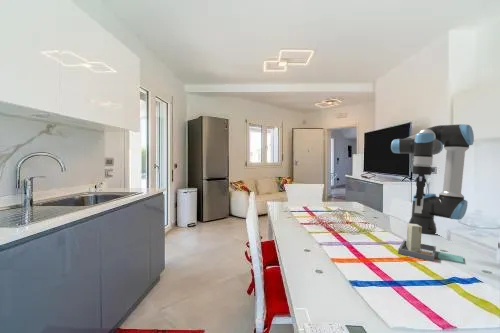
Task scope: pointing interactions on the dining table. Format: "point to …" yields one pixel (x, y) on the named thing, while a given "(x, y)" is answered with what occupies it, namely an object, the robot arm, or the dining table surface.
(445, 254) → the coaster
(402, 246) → the tray
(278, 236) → the dining table surface
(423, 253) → the walnut box
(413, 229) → the skincare box
